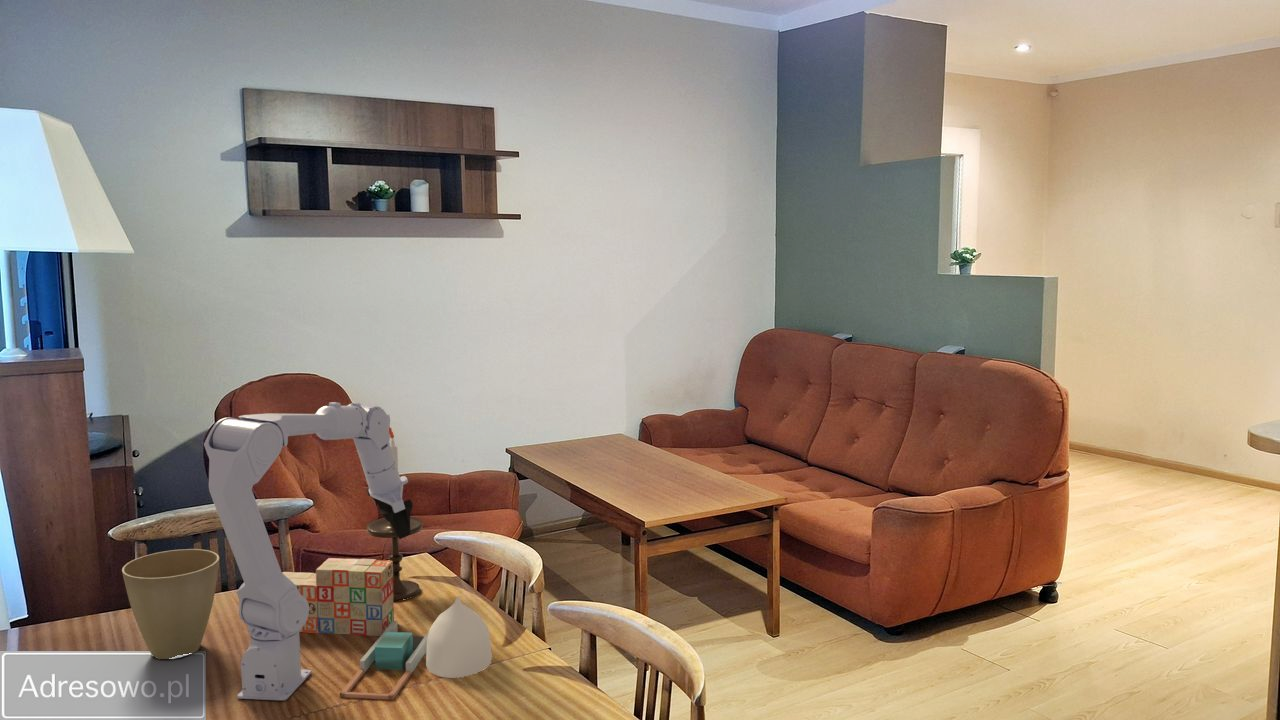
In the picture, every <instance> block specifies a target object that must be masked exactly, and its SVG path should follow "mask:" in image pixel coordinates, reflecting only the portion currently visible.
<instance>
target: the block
mask: <svg viewBox="0 0 1280 720" xmlns="http://www.w3.org/2000/svg"><path fill="white" fill-rule="evenodd" d="M413 636H414V635H413V632H406V631H405V632H401V631H398V632H386V634H385V635H384V636H383V638H382V639H381V640H380V641H379V643H378V644H377V645H376V647H375V660H374V663H375V670H386V671H387V670H388V671H389V670H393V671H403V669H404V668H406V662H407V660H408V659H409V658H410V656H411V655H412V653H413V652H414V650H413Z"/></svg>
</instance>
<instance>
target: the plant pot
mask: <svg viewBox="0 0 1280 720" xmlns="http://www.w3.org/2000/svg"><path fill="white" fill-rule="evenodd" d="M219 564H220V555H218V553H216V552H214V551H211V550H208V549H199V548H187V549H186V548H185V549H184V548H183V549H173V550H172V549H171V550H165V551H159V552H154V553H150V554H147V555H143V556H141V557H138V558H135V559H132V560H130V561H129V562H127V563H126V564H125V565H124V566H122V569H121V572H122V576H123V581H124V586H125V590H126V594H127V598H128V601H129V605H130V609H131V611H132V613H133V616H134V619H135V621H136V624H137V628H138V629H139V632H140V634H141V635H142V638H143V640H144V642H145V645H146V646H147V648H148V650H149V652H150V654H151V655H153V656H155V657H157V658H158V659H157V660H160V659H169V658H172V657H175V656H177V655H183V654H189V653H193V652H195V653H196V652H197V651H198V650H199V649H200V647H201V644H202V641H203V638H204V635H205V632H206V629H207V626H208V623H209V619H210V615H211V613H212V607H213V603H214V599H215V594H216V589H217V582H218V573H219V566H220V565H219ZM193 654H194V653H193ZM153 656H152V657H153Z"/></svg>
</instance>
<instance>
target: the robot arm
mask: <svg viewBox="0 0 1280 720" xmlns="http://www.w3.org/2000/svg"><path fill="white" fill-rule="evenodd" d="M237 417H238V418H239V419H238V418H234V417H230V416H229V417H224V418H221V419H219V420H218V421H216V422H215V423H214V424H213V426H212V427H211V429H210V431H209V432H208V435H207V437H206V439H205V441H204V443H203V446H204V449H205V452H206V455H207V457H208V459H209V461H208V462H209V463H208V465H209V466H208V491H209V494H210V497H211V500H212V502H213V504H214V507H215V510H216V512H217V514H218V518H219V520H220V522H221V525H222V528H223V530H224V534H225V536H226V539H227V540H228V543H229V544H228V545H229V546H230V549H231V552H232V555H233V556H234V557H233V558H234V560H235V562H236V564H237V566H238V567H237V568H238V570H239V572H240V573H239V574H240V575H241V578H242V580H243V583H242V584H241V585H240V587H239V588H238V589H237V590H236V594H237V597H238V603H239V604H238V615H239V618H240V620H241V621H242V622H243V623H244V624H246V625H247V632H249V633H250V641H249V645H248V647H247V650H245V651H244V653H243V655H242V657H241V660H240V670H241V672H240V673H241V687H242V688H241V689H242V690H241V691H240V692H239V693H237V695H236V696H237V697H236V698H237V699H239V700H241V699H244V700H266V701H286V700H288V699H289V698H290V697H291V696H292V694H293V693H295V691H296V690H297V689H298V688H299V687H300V686H301V685H302V684H303V683H304V681H305V680H306V679H307V678H308V677H309V676H310V675H311V674H312V670H310V669H301V668H302V667H301V666H302V665H301V644H300V641H301V640H300V633H301V632H300V631H301V630H302V627H303V626H304V624H305V623H306V621H307V618H308V614H309V604H308V601H307V599H306V598H305V597H304V596H302V595H301V594H300V593H299V591H298V589H297V586H296V585H295V584H294V583H293V582H292V581H291V580H290V579H288V578H287V577H286V576H285V575H284V574H283V573H282V569H281V566H280V564H279V561H278V558H277V556H276V553H275V551H274V547H273V544H272V542H271V539H270V536H269V534H268V530H267V528H266V526H265V523H264V519H263V517H262V515H261V512H260V508H259V506H258V503H257V500H256V498H255V495H254V491H253V487H254V485H255V484H258V483H259V482H260V481H261V479H262V478H263V476H264V475H265V474H266V473H267V472H268V470H269V469H270V468H271V466H272V465H273V464H274V462H275V461H276V460H277V458H278V457H279V455H280V454H281V452H282V449H283V447H284V448H285V447H287V446H288V443H289V437H293V436H295V437H296V436H303V435H312V434H316V436H317V437H318V438H320V439H321V440H324V441H331V440H333V441H334V440H348V439H349V440H351V439H352V440H353V442H354V445H355V448H356V451H357V454H358V458H359V461H360V464H361V467H362V469H363V474H364V476H365V477H364V478H365V480H366V483H367V486H368V487H367V488H366V489H365V490H366V491H365V492H366V493H367V495H368V496H370V498H371V499H373V501H374V502H375V503H376V505H377V506H378V509H379V512H380V514H381V515H382V517H383V518H385V519H386V520H387V521H389V522H390V524H391V525H392V527H393V529H394V531H395V533H396V535H397V536H398V538H399V540H401V539H404V538H407V537H409V536H411V535H410V517H411V513H412V510H413V508H414V505H413V502H412V499H408V500H404V499H403V490H404V485H406V484H408V483H409V480H408V478H407V477H406V476H405V475H403V476H400V474H399V468H398V469H397V466H396V463H395V459H394V456H393V453H392V449H391V446H390V442H391V437H390V434H389V427H390V425H391V415H390V414H388V413H387V412H386V411H385V410H384V408H382V407H381V406H377V405H376V406H375V405H368V404H367V405H366V404H361V403H360V402H352V403H349V404H348V405H342V404H341V402H336V401H334V402H333V401H332V402H330V401H329V402H328V405H324V406H322V407H320V408H318V409H317V411H316V412H315V413H272V412H271V413H270V412H269V413H255V414H243V415H239V416H237Z"/></svg>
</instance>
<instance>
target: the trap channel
mask: <svg viewBox="0 0 1280 720" xmlns="http://www.w3.org/2000/svg"><path fill="white" fill-rule="evenodd" d="M398 626H399V625H398V621H397V620H394V621H393V622H392V623H391V624H390V625H389V627H388V628H387V629H386V630H385V631H384V632H383V634H382V635H381V636H379V637H378V638H377V639H376V640H375V642H374V643H373V645H371V647H370V648H369V649H368V651H366V653H365V654H364V655H363V656H362V658H360V659H359V669H358V671H356V673H355V674H354V675H353V677H352V678H351V679H350V680H349V682H348V683H347V684H346V685H345V686H344V687H343V689H342V690H341V692H340V693H339V698H346V699H347V698H349V699H350V698H351V699H367V700H368V699H372V700H388V701H389V700H390V701H392V700H393V701H394V699H395V698H396V696H397V695H398V694H399V693H400V690H401V689H402V688H403V686H404V685H405V684H406V682H407V681H408V679H409V678H410V676H411V675H412V673H413V672H414V671H415V669H416V668H417V666H418V665H419V663H420V662H421V660H422V659H423V658H424V657H425V655H426V652H427V637H428V634H429V631H430V629H429V630H428V632H427V633H426V634H425V636H422V635H420V636H419V635H413V653H412V655H411V656H410V658H409V659H408V660H407V662H406V665H405V671H404V673H403V674H402V676H401V677H400V679H399V680H398V681H397V683H396V684H395V685H394V687H393V688H392V690H391V691H390V693H375V692H353V691H352V690H353V688H354V687H355V685H356V684H357V683H358V682H359V680H360V679H361V678H362V677H363V675H364V674H365V673H366V672H367V671H368V669H369V668H370V667H371V665H372V664H373V663H375V647H376V645H377V644H378V643H379V641H380V640H381V639H382V638H383V636H384V635H385V634H386V632H399V631H398V630H399V629H398Z"/></svg>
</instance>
